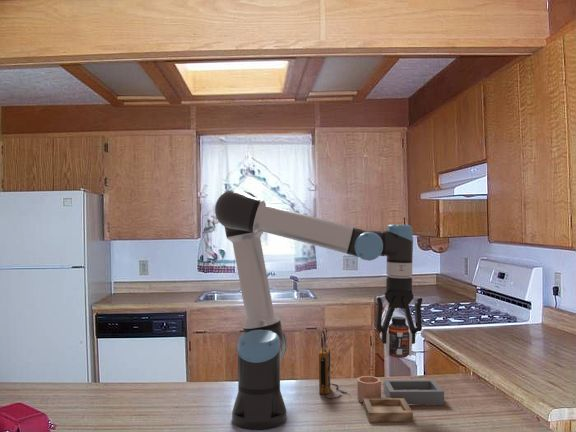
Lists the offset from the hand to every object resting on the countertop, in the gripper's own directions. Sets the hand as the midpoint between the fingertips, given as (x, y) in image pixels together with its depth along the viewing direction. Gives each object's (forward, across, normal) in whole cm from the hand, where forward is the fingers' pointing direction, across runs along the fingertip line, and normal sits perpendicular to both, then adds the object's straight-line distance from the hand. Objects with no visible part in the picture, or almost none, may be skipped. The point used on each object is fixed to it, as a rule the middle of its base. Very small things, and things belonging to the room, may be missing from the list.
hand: (398, 354), depth 151 cm
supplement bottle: (+1, 0, 0) cm, 1 cm away
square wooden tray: (+15, -4, -6) cm, 17 cm away
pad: (+14, +6, +5) cm, 16 cm away
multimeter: (+16, -17, +12) cm, 26 cm away
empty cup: (+15, -8, +5) cm, 18 cm away
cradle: (+15, +6, +5) cm, 17 cm away
